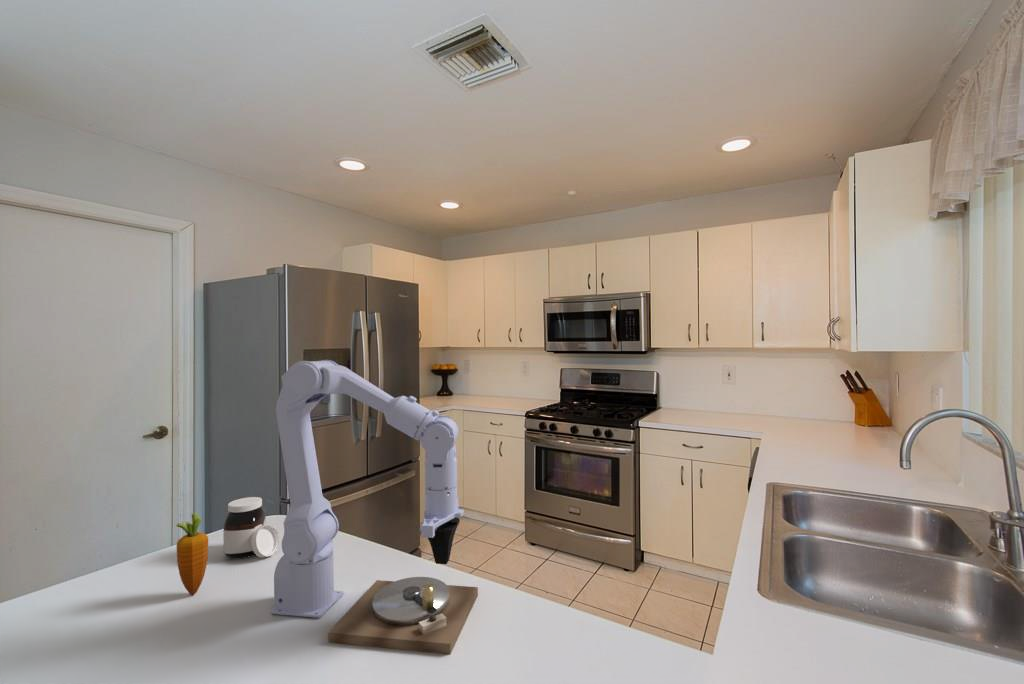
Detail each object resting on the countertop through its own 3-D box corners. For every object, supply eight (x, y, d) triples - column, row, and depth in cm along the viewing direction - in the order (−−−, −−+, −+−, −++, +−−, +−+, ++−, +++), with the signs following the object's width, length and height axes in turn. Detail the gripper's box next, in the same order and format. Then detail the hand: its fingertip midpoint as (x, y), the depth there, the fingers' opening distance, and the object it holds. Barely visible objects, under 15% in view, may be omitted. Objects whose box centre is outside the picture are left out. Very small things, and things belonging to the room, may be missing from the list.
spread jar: (234, 545, 110) (234, 496, 110) (286, 539, 112) (285, 492, 112) (215, 568, 98) (214, 513, 98) (273, 561, 101) (272, 508, 101)
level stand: (328, 642, 72) (327, 620, 72) (376, 588, 88) (376, 570, 88) (450, 654, 68) (450, 631, 68) (477, 595, 84) (477, 576, 85)
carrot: (192, 603, 84) (191, 521, 84) (170, 600, 85) (169, 519, 85) (215, 589, 89) (214, 511, 89) (193, 587, 90) (192, 510, 90)
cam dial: (360, 601, 80) (359, 574, 80) (425, 576, 89) (424, 551, 89) (397, 637, 70) (396, 606, 70) (466, 604, 78) (466, 576, 78)
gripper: (450, 499, 74) (451, 584, 74) (473, 475, 88) (474, 546, 88) (408, 498, 75) (410, 581, 75) (438, 474, 90) (439, 544, 89)
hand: (442, 562), depth 82 cm, fingers closed
